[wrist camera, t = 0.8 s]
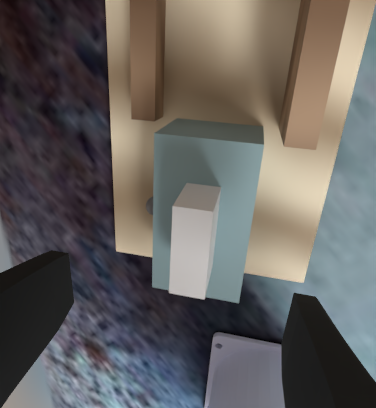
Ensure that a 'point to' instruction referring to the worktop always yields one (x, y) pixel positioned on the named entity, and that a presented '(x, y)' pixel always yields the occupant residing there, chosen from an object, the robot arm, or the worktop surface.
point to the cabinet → (203, 206)
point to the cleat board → (236, 105)
